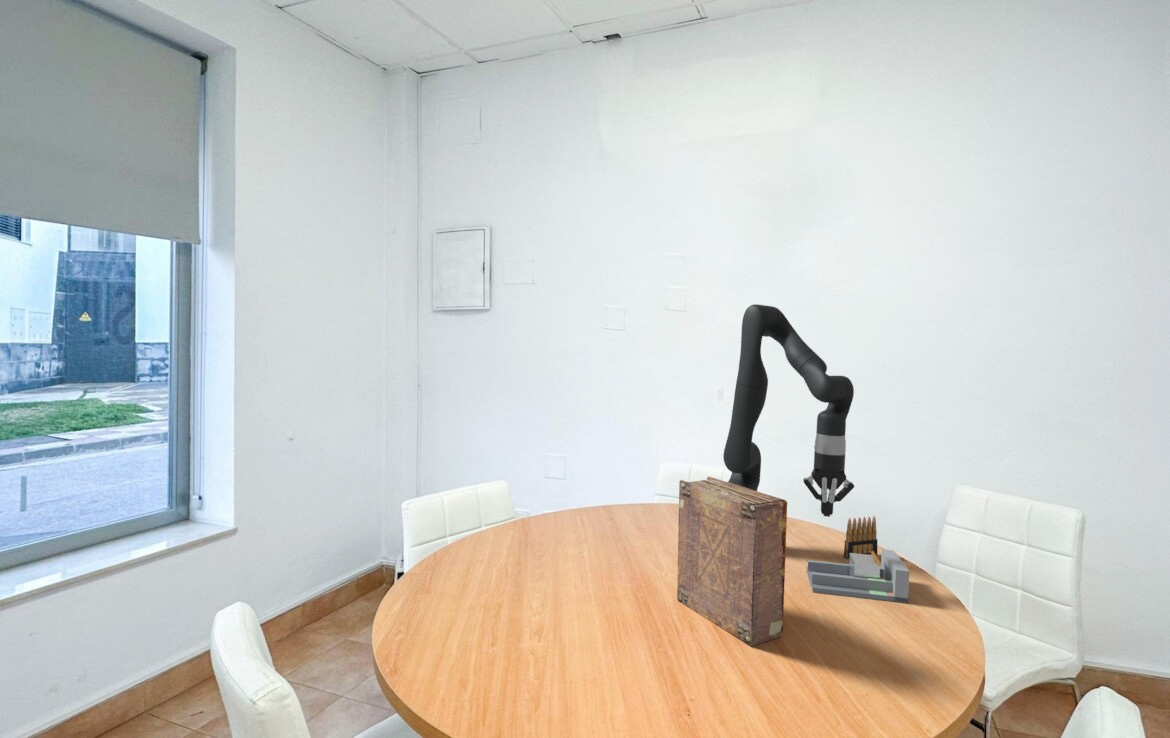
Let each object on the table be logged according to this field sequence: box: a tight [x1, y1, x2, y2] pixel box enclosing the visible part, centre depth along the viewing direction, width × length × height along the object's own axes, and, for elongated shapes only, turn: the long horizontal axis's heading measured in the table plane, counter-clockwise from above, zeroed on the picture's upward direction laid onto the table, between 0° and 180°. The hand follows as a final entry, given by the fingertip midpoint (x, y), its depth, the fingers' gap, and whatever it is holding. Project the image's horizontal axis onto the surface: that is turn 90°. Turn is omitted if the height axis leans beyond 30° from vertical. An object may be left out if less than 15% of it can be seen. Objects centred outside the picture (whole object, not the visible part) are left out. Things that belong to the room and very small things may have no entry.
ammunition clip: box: [843, 515, 878, 560], centre depth 175 cm, size 11×2×12 cm, turn 106°
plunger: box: [848, 551, 881, 579], centre depth 152 cm, size 6×8×7 cm
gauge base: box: [805, 548, 910, 604], centre depth 153 cm, size 22×15×8 cm
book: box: [676, 476, 788, 647], centre depth 134 cm, size 25×9×30 cm, turn 29°
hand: (826, 515), depth 154 cm, fingers closed
